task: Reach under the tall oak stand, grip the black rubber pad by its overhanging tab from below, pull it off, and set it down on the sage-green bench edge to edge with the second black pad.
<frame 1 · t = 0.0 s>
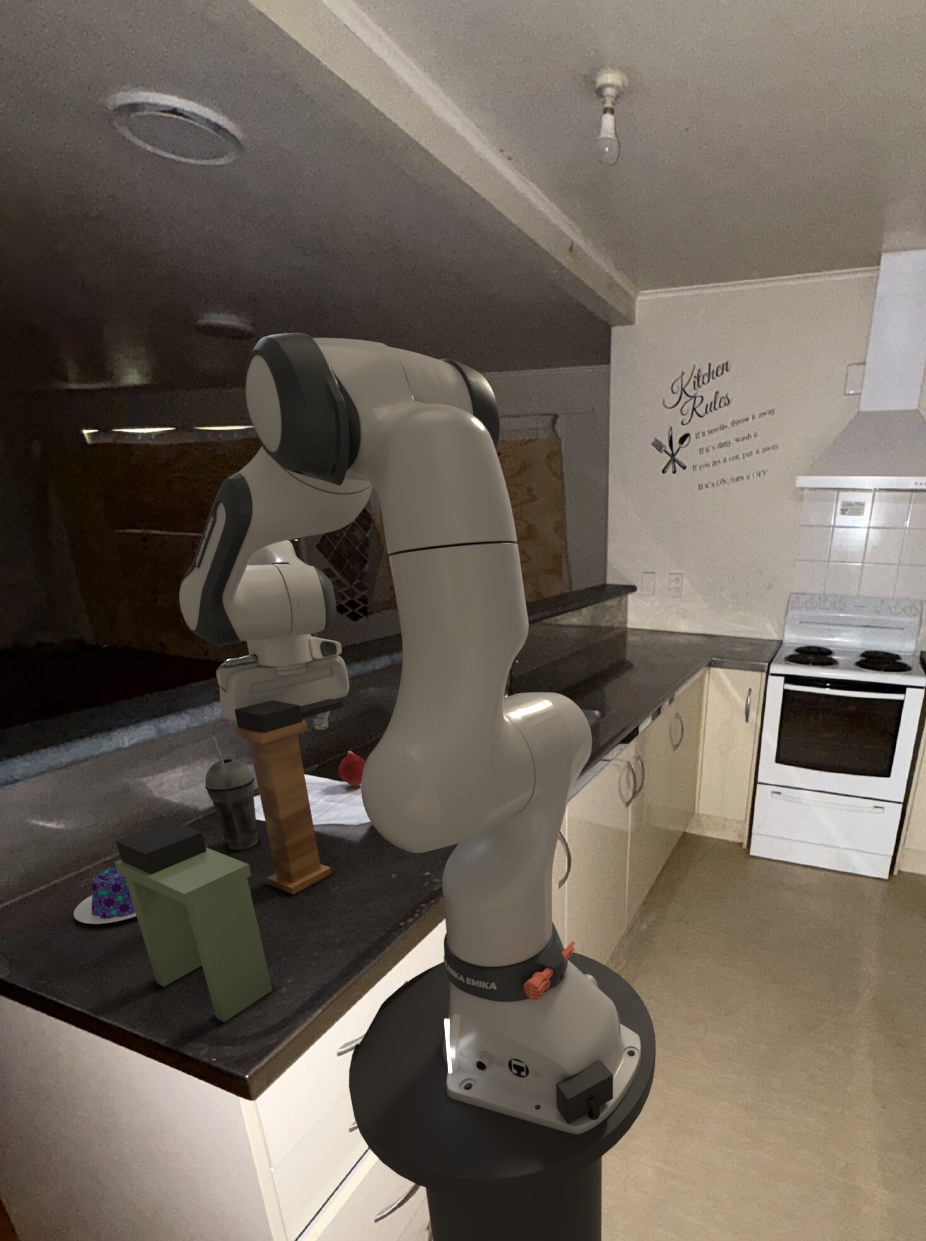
hand: (296, 736, 101), 21 cm above the counter, tool pointing down, fingers open, 8 cm apart
beverage cup: (243, 844, 111), on the counter
low bench: (214, 986, 76), on the counter
onion: (356, 787, 135), on the counter
pudding: (127, 905, 93), on the counter
black pad: (270, 724, 91), point 25 cm above the counter, touching tall stand
base pad: (164, 856, 72), point 17 cm above the counter, touching low bench
tall stand: (300, 879, 100), on the counter
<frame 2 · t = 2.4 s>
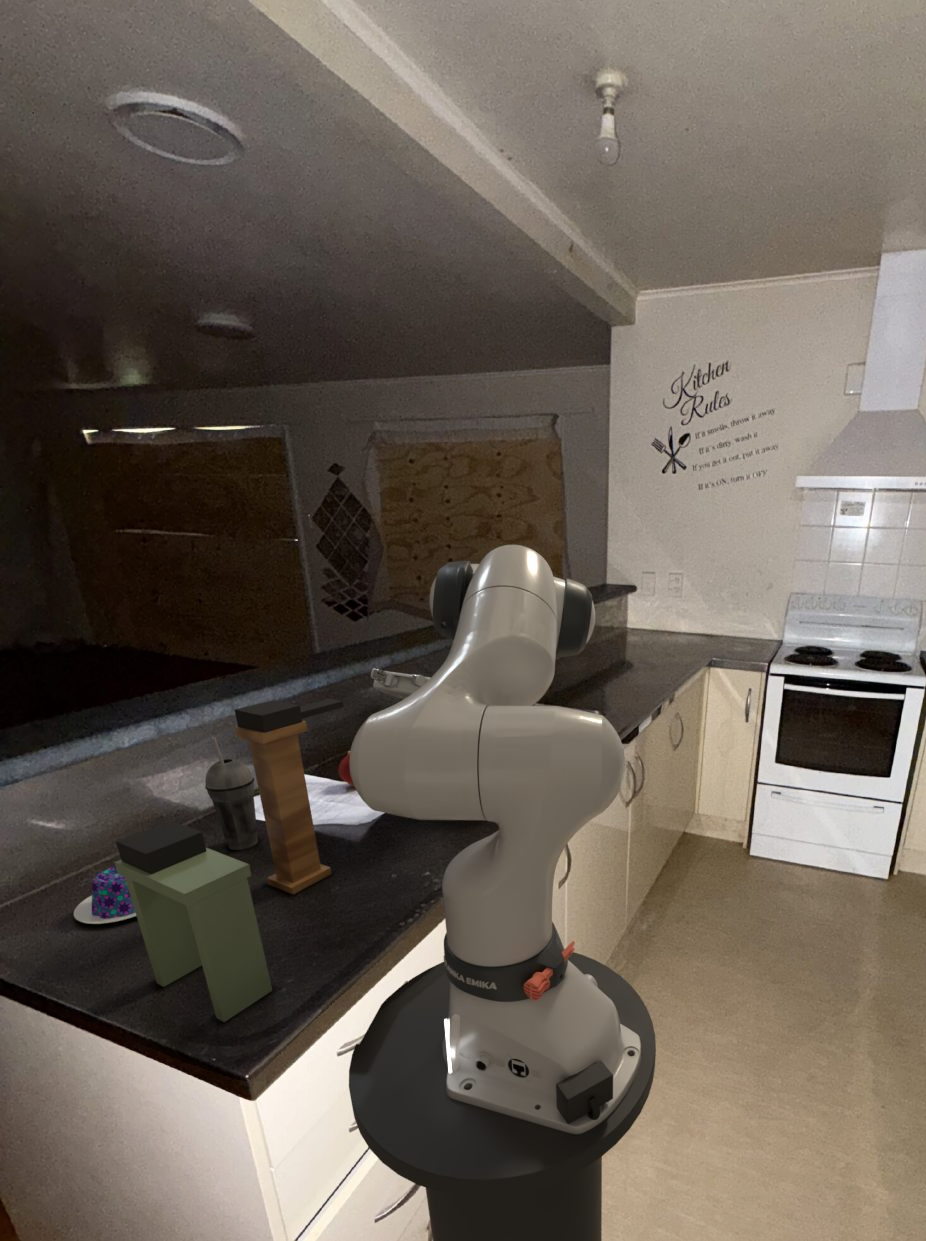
hand: (394, 675, 107), 28 cm above the counter, tool pointing upward, fingers open, 8 cm apart
nothing on the counter moved.
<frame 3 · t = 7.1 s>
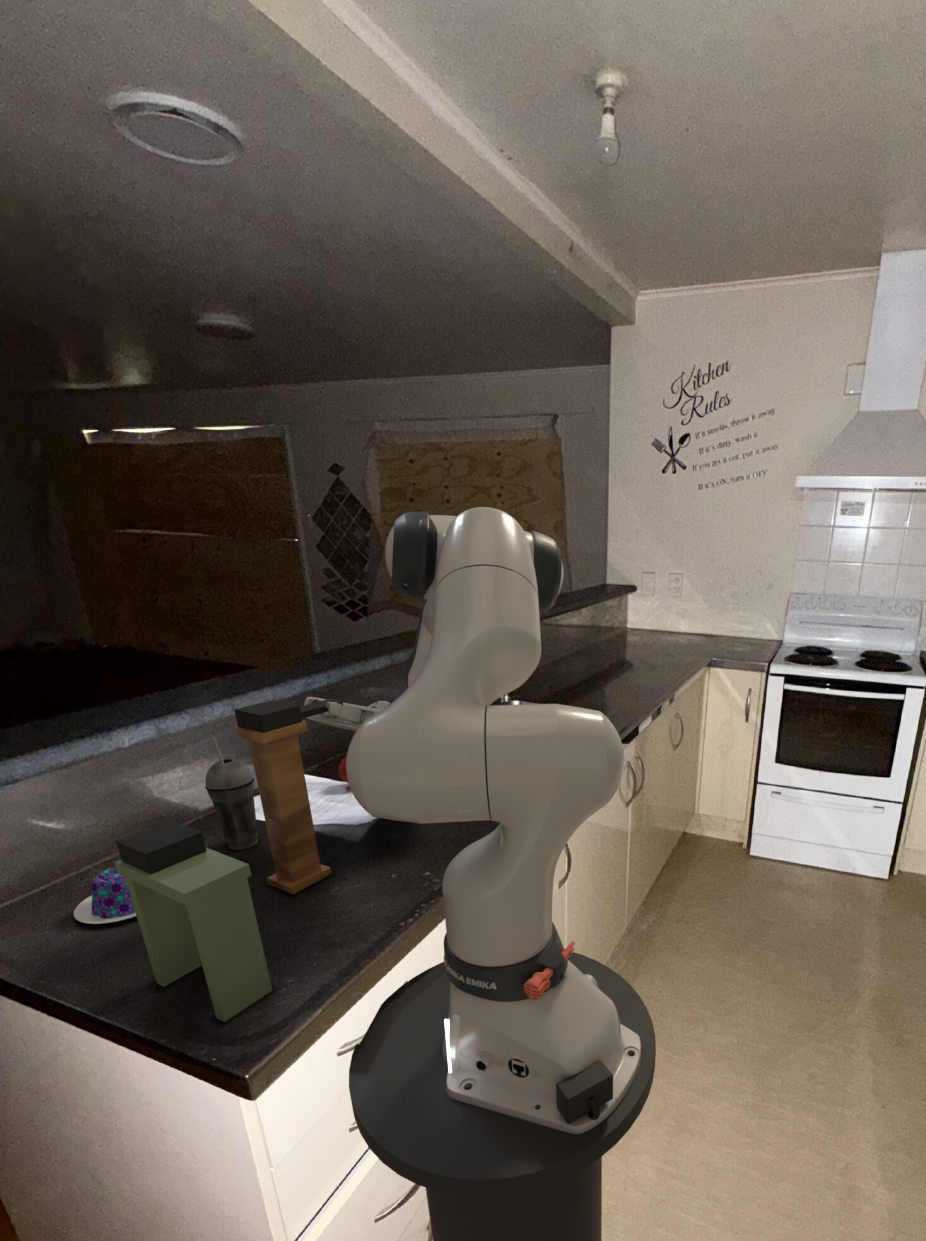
hand: (318, 704, 97), 26 cm above the counter, tool pointing upward, fingers closed on black pad, 3 cm apart
black pad: (270, 724, 91), point 26 cm above the counter, touching gripper, tall stand
everything else where it was.
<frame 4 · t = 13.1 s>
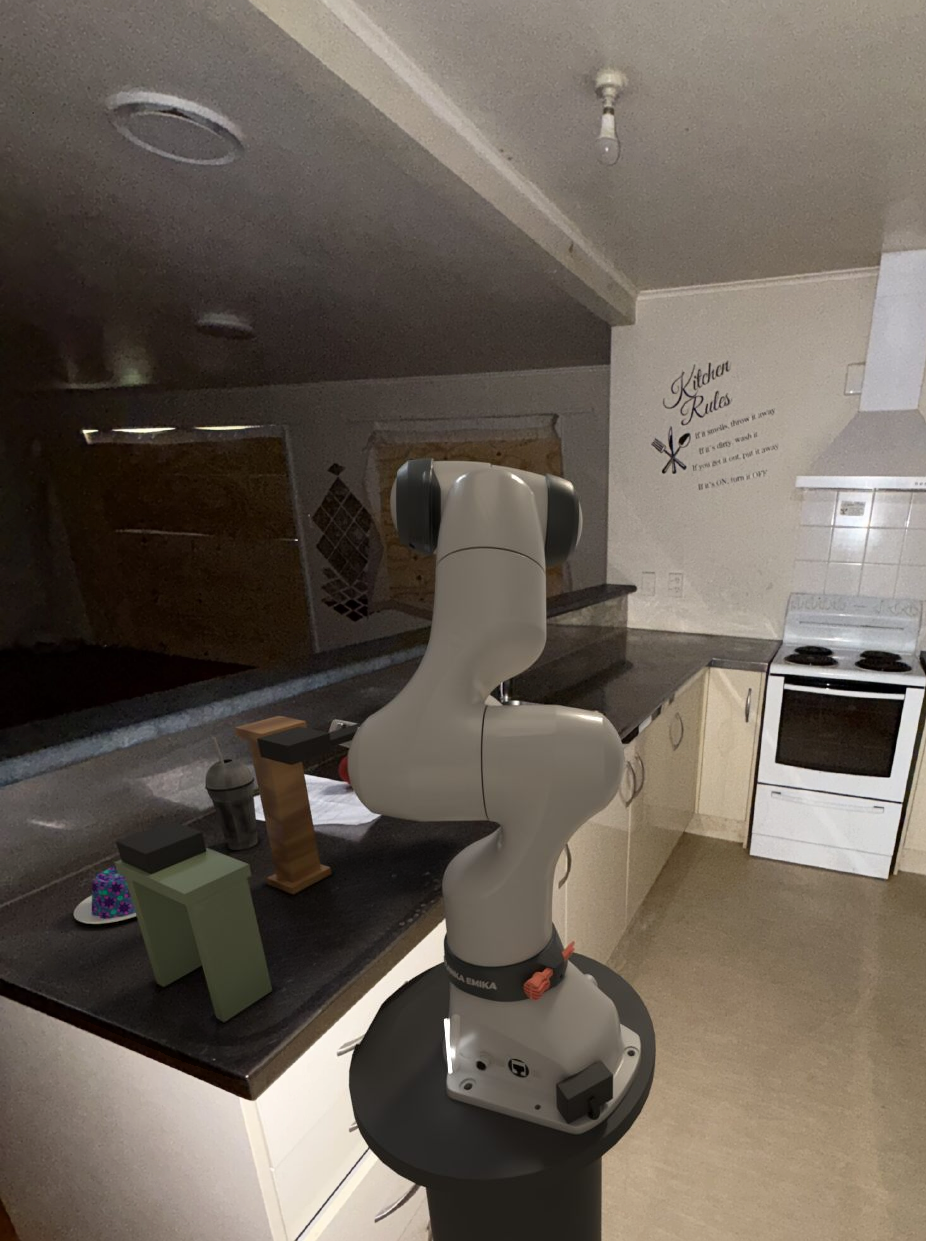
hand: (348, 730, 87), 26 cm above the counter, tool pointing upward, fingers closed on black pad, 3 cm apart
black pad: (297, 754, 81), point 25 cm above the counter, touching gripper
everything else where it was.
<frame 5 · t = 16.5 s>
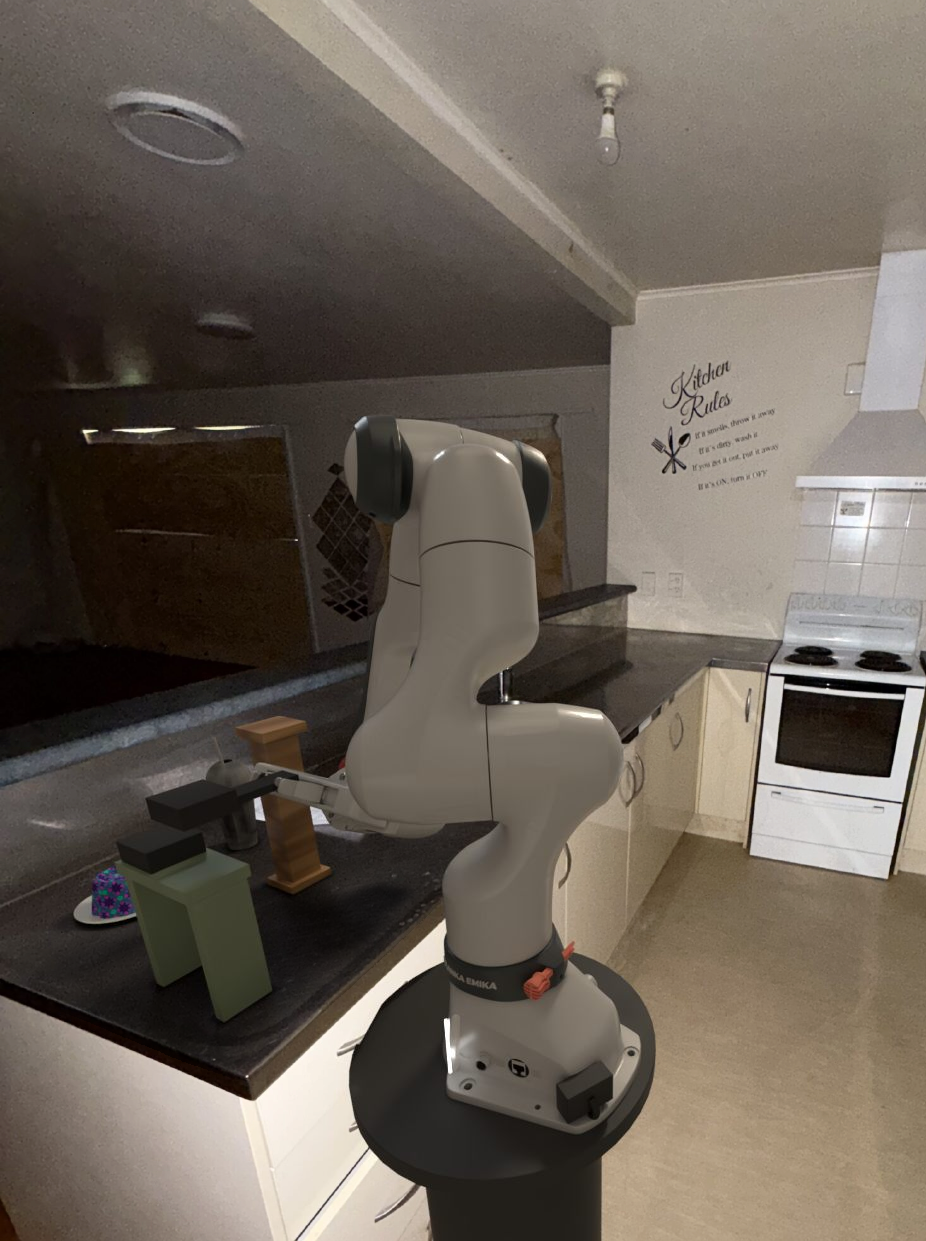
hand: (265, 781, 74), 24 cm above the counter, tool pointing upward, fingers closed on black pad, 3 cm apart
black pad: (196, 814, 67), point 23 cm above the counter, touching gripper
everything else where it was.
when the fingers open (18 cm above the counter, at t = 19.0 s): black pad stays where it is, resting on low bench.
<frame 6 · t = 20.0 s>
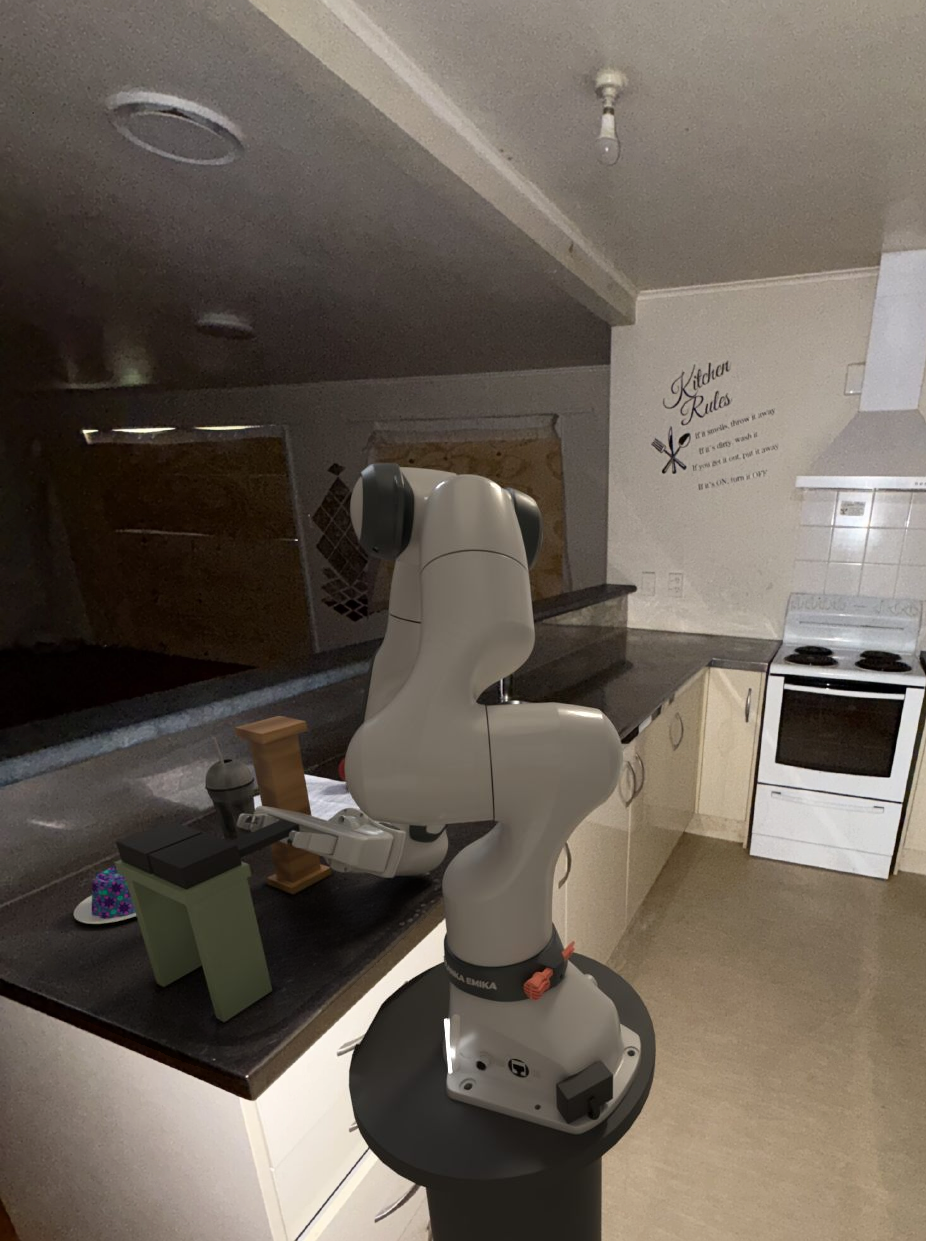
hand: (265, 829, 75), 18 cm above the counter, tool pointing upward, fingers open, 8 cm apart
black pad: (198, 869, 69), point 17 cm above the counter, touching low bench
everything else where it was.
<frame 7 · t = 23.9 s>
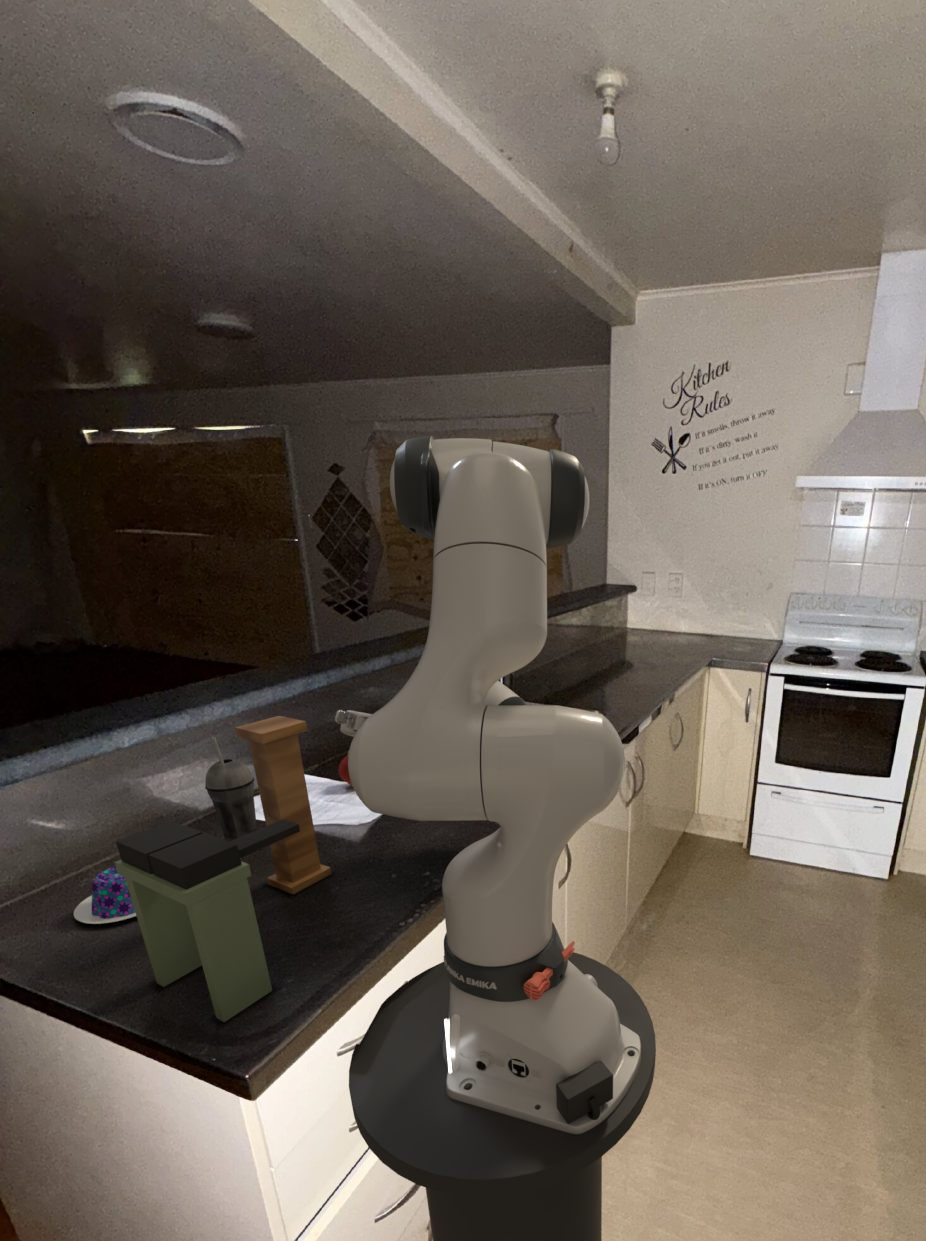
hand: (363, 720, 85), 28 cm above the counter, tool pointing upward, fingers open, 8 cm apart
nothing on the counter moved.
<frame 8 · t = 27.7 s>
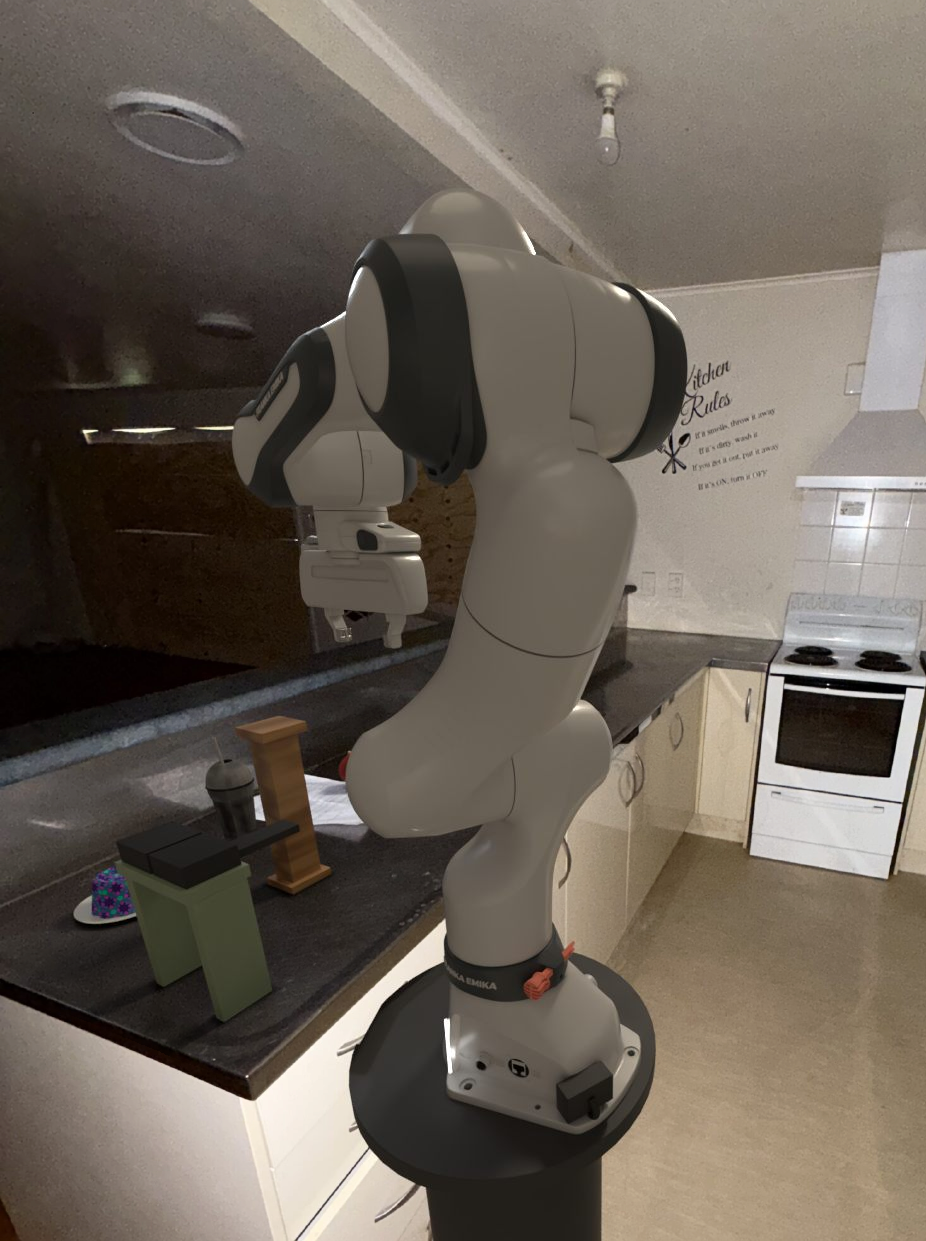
hand: (367, 644, 86), 37 cm above the counter, tool pointing down, fingers open, 8 cm apart
nothing on the counter moved.
at the end: black pad 0.1 cm from the target spot on the low bench, point 17.0 cm above the low bench's base; black pad 6.4 cm from the base pad (horizontally); black pad tilted 0° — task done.
